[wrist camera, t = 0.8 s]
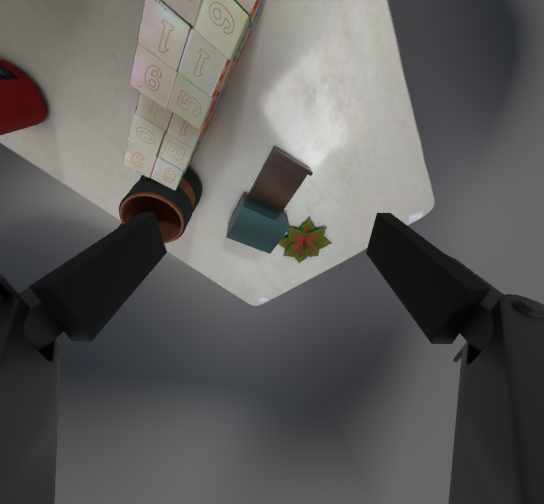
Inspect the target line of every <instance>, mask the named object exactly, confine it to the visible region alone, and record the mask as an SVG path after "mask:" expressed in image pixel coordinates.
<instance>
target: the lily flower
mask: <svg viewBox="0 0 544 504" xmlns="http://www.w3.org/2000/svg"><path fill="white" fill-rule="evenodd" d="M326 228H327V227H325V228H322V229H319V230H315V226H314V224H313V223H312V221H311V219H310V218H309V220H308V221H307V222H306V223H304V224H303V226H302V227H301V228H300V229H299V230H298V229H294V228H289V229H288V232H289V233H288V235H289V237H286V238H284V239H281V240H280V241H279V243H278V244H280V245H281V246H282V247H284V248H288V249H287V251H286V252H285V255H283V256H290V257H294V256H295V258H296V259H297V261H299V263H300V262H301V261H303V260H304V259H306V258H307V257H308V256H310V257H311V258H312V256H318V254H319V249H321V248H324V247H326V246H327V245H328V244H331V242H329V241H328V240H327V239H325V238H323V237H324V234H325V229H326Z"/></svg>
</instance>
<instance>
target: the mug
mask: <svg viewBox="0 0 544 504" xmlns="http://www.w3.org/2000/svg"><path fill="white" fill-rule="evenodd" d="M201 192H202V189H201V184H200V181H199V179H198V177H197V176H196V174H195V173H194V172H193V171H192V170H191V169H190V168H189V167H188V168H187V170H186V172H185V174H184V176H183V178H182V180H181V182H180V184H179V186H178V187H177V189H176V190H173V189H171V188H169V187H167V186H165V185H163V184H161V183H159V182H157V181H155V180H153V179H152V178H148V177H146V176H144V175H142V176H141V178H140V180H139V181H138V182H137V183H136V184H135V185H134V186H133V187H132V189H131V190H130V192H129V193H128V194H127V195H126V196H125V197H124V198H123V200H122V201H121V203H120V206H119V214H120V218H121V221H122V223H121V224H120V226H122V225H124V224H125V223H127V222H128V221H130V220H131V219H133V218H134V217H136V216H137V215H139V214H140V213H155V216H156V219H157V222H158V225H159V228H160V232H161V235H162V238H163V241H164V243H168V242H171V241H174V240H176V239H178V238H179V237H180V236H181V235H182V234H183V233H184V231H185V228H186V226H187V224H188V222H189V220H190V219H191V216H192V212H193V211H194V210H195V208H196V206H197V205H198V202H199V200H200V197H201ZM120 226H119V227H120ZM119 227H118V228H119Z"/></svg>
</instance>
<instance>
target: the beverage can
mask: <svg viewBox="0 0 544 504" xmlns="http://www.w3.org/2000/svg"><path fill="white" fill-rule="evenodd" d="M45 115H46V108H45V104H44V101H43V99H42V97H41V95H40V93H39V92H38V90H37V89H36V87H35V86H34V85H33V84H32V82H31V81H30V80H29V79H28V78H27V77H26V76H25V75H24V74H22V73H21V72H20V71H19V70H17V69H16V68H15V67H13V66H12V65H10V64H8V63H6V62H4V61H2V60H0V135H3V134H6V133H10V132H13V131H17V130H20V129H24V128H27V127H30V126H33V125H37V124H39V123H41V122H42V121H43V120H44V118H45Z"/></svg>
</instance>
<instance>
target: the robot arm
mask: <svg viewBox="0 0 544 504" xmlns="http://www.w3.org/2000/svg"><path fill="white" fill-rule="evenodd" d="M166 253H167V251H166V248H165V245H164V241H163V238H162V235H161V232H160V228H159V225H158V222H157V219H156V216H155V213H140V214H139V215H137V216H136V217H134V218H133V219H131V220H130V221H128V222H127V223H125V224H124V225H122V226H120V227H119V228H117V229H116V230H114V231H113V232H111V233H110V234H108V235H107V236H105V237H104V238H102V239H101V240H99V241H98V242H96V243H95V244H93V245H92V246H90V247H89V248H87V249H85V250H84V251H82V252H81V253H79V254H78V255H76V256H75V257H73V258H72V259H70V260H69V261H67V262H66V263H64V264H63V265H61V266H60V267H58V268H56V269H55V270H53V271H52V272H50V273H49V274H47V275H46V276H44V277H43V278H41V279H40V280H38V281H37V282H35V283H34V284H32V285H31V286H29V288H27V289H26V290H24V291H23V292H21V293H19V294H18V293H17V292H16V290H15V289H14V288H13V287H12V286H11V284H10V283H9V282H8V281H7V280H6V279H5V277H4V276H3V275H2V274H0V504H54V497H55V473H56V449H57V425H58V399H59V375H60V350H61V345H60V343H59V341H58V340H57V339H56V338H57V337H58V336H59V335H60V334H61V333H62V332H63V331H64V332H65V333H66V334H67V335H68V337H69V338H70V339H71V341H92V340H93V339H94V338H95V337H96V335H97V334H98V333H99V332H100V331H101V330H102V328H103V327H104V326H105V325H106V324H107V322H108V321H109V320H110V319H111V318H112V316H113V315H114V314H115V313H116V312H117V311H118V309H119V308H120V307H121V306H122V304H124V302H125V301H126V300H127V299H128V298H129V296H130V295H131V294H132V293H133V292H134V290H135V289H136V288H137V287H138V286H139V284H140V283H141V282H142V281H143V280H144V279H145V277H146V276H147V275H148V274H149V273H150V272H151V270H152V269H153V268H154V267H155V266H156V265H157V263H158V262H159V261H160V260H161V259H162V257H163V256H164V255H165V254H166ZM366 253H367V255H368V256H369V258H370V259H371V260H372V262H373V263H374V265H375V266H376V267H377V269H378V270H379V271H380V273H381V274H382V275H383V277H384V278H385V280H386V281H387V283H388V284H389V285H390V287H391V288H392V289H393V291H394V292H395V294H396V295H397V296H398V298H399V299H400V301H401V302H402V303H403V305H404V306H405V308H406V309H407V310H408V312H409V313H410V314H411V316H412V317H413V319H414V320H415V321H416V323H417V324H418V326H419V327H420V328H421V330H422V331H423V332H424V334H425V335H426V336H427V338H428V339H429V341H430V342H431V343H432V344H452V343H453V341H454V340H455V339H456V337H457V336H458V334H459V333H460V334H461V335H462V336H463V337H464V338H465V339H466V341H467V342H466V343H465V345H464V346H463V347H462V348H461V350H460V351H459V352H458V354H457V355H456V356H455V358H454V359H453V361H455V362H457V361H458V360H459V359H461V369H460V381H459V392H458V404H457V415H456V426H455V438H454V449H453V461H452V472H451V484H450V495H449V504H544V305H543V304H540V303H538V302H537V301H534V300H531V299H529V298H526V297H522V296H518V295H509V294H507V295H504V294H502V293H501V292H499V291H498V290H497V289H495V288H494V287H493V286H491V285H490V284H488V283H487V282H486V281H484V280H483V279H482V278H480V277H479V276H478V275H476V274H474V272H472V271H471V270H470V269H468V268H466V267H465V266H464V265H463V264H462V263H460V262H459V261H457V260H456V259H454V258H452V257H450V256H448V255H446V254H444V253H443V252H441V251H440V250H439V249H437V248H436V247H435V246H433V245H432V244H431V243H429V242H428V241H427V240H425V239H424V238H423V237H421V236H420V235H419V234H417V233H416V232H415V231H413V230H412V229H411V228H409V227H408V226H407V225H406V224H404V223H403V222H402V221H400V220H399V219H398V218H396V217H395V216H394V215H392V214H391V213H377V215H376V219H375V223H374V226H373V230H372V234H371V237H370V241H369V244H368V248H367V252H366Z"/></svg>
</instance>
